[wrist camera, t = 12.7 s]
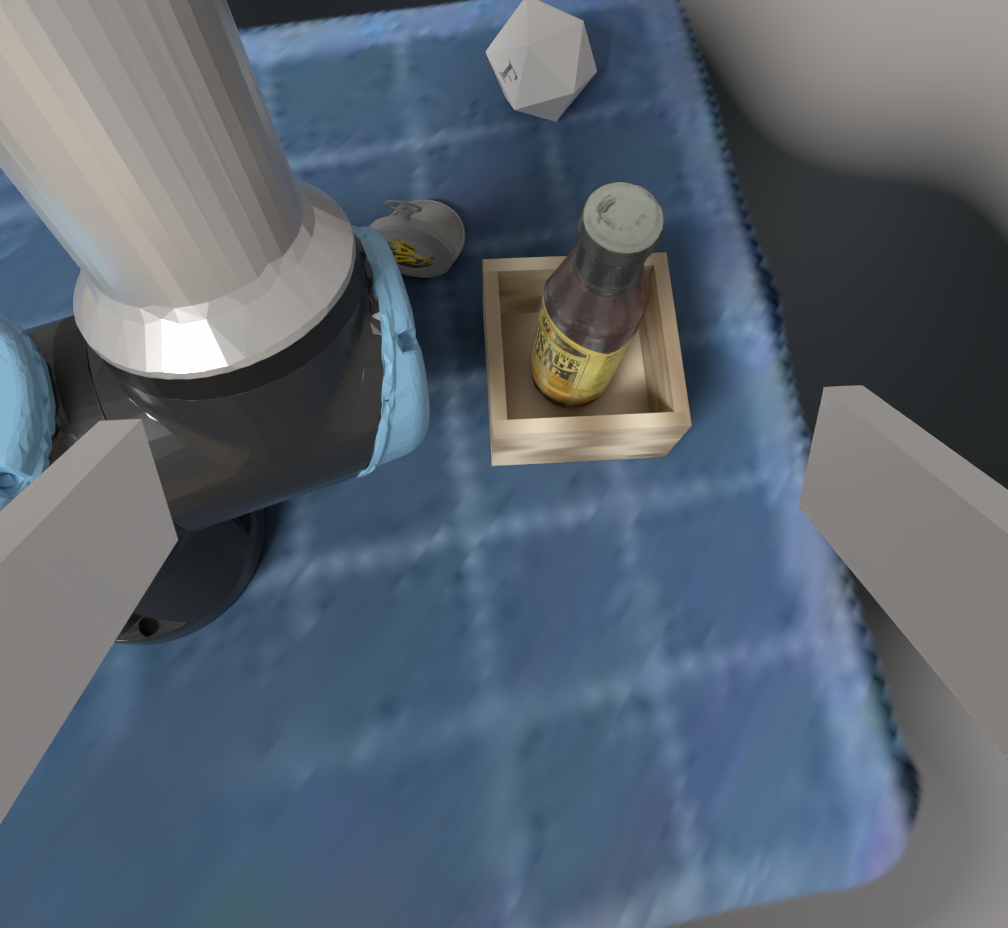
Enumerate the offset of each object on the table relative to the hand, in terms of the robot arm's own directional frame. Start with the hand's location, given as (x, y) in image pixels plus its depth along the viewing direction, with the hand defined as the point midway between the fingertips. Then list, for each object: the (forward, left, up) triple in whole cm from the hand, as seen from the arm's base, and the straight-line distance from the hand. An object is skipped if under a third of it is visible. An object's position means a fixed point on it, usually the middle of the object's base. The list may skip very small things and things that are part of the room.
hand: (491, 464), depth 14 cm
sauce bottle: (-4, +18, -35) cm, 39 cm away
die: (-20, +40, -36) cm, 57 cm away
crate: (-4, +18, -36) cm, 40 cm away
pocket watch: (-20, +21, -36) cm, 46 cm away
